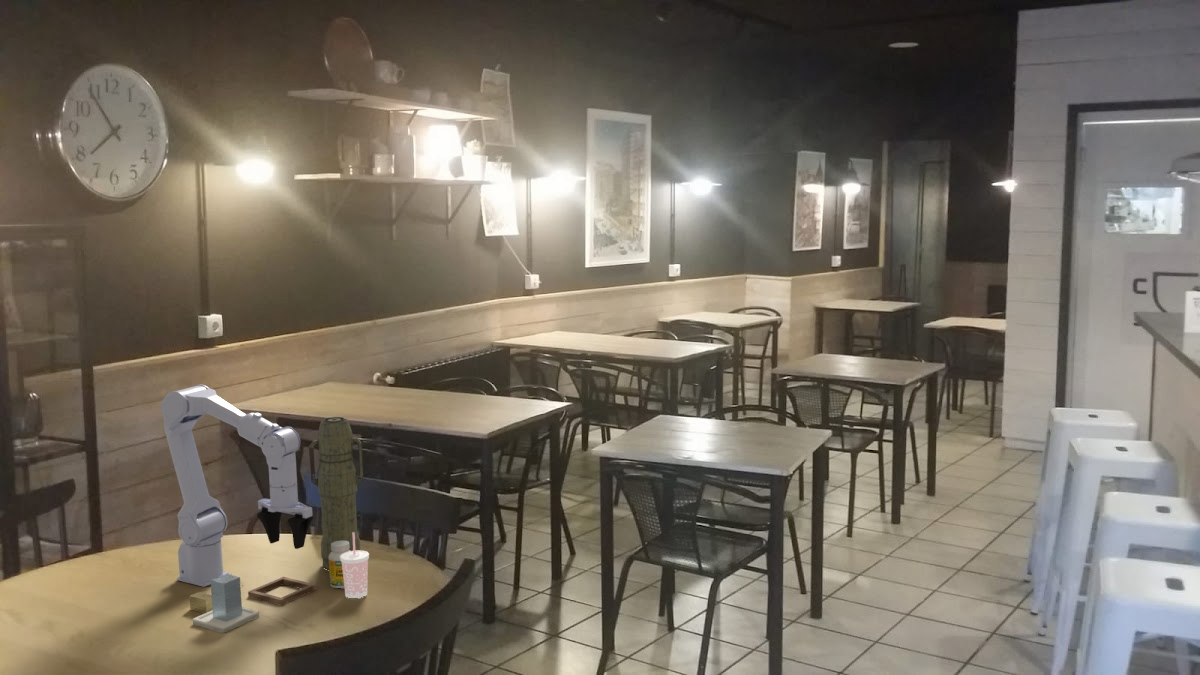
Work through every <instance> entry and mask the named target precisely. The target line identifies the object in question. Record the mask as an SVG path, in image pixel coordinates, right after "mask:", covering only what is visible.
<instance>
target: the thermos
mask: <svg viewBox="0 0 1200 675" xmlns="http://www.w3.org/2000/svg"><path fill="white" fill-rule="evenodd" d="M355 443H357V445H358V446H357V447H358V449H357V450H358V451H357V452H358V468H359V469H358V470H359V475H358V474H357V468H356V465H355V463H354V456H353V451H354V449H353V444H355ZM315 445H317V446H318V454H319V462H318V463H319V465H318V468H317V475H316V464H315V451H314V450H315ZM308 455H309V464H310V465H309V467H310V479H311V480H310V481H311V483H313V485H315V486H317V489H318V496H319V498H320V507H321V508H320V509H321V528H322V530H321V531H322V537H321V542H320V552H321V554H320V555H321V559H322V569H323V568H325V569H327V570H329V554H330V553H331V552H332V550H331V543H333V542H336V541H348V542H349V545H350V548H349V550H350V551H353V535H352V533H353V532H355V550H361V540H360V536H358V522H357V521H358V520H357V519H358V517H357V499H356V495H357V493H358V484H359V483H360V482H363V481H364V465H363V464H364V463H363V462H364V460H363V443H362V441H361V440H360V439H359V437H356V436H353V430H352V428H351V425H350V422H349V421H348V418H344V416H343V417H342V416H341V417H340V416H332V417H328V418H324V419H323V420H321V421H320V423H319V428H318V433H317V438H316V439H314V440H313V441H312V442H311V444H309V446H308ZM316 476H317V478H316ZM327 570H326V571H327Z"/></svg>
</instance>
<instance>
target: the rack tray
mask: <svg viewBox="0 0 1200 675" xmlns="http://www.w3.org/2000/svg"><path fill="white" fill-rule="evenodd" d="M259 617H260V612H259V610H254V609H251V608H247V607H243V606H242V615H240V616H238V617H236V618H234V619H231V620H229V621H227V622H226V621H222V620H219V619H215V618H213V610H212V611H210V612H207V613H202V614H201V615H198V616H196V617H194V618H192V625H193V626H196V627H197V626H198V627H200V628H204V629H208V630H211V631H214V632H218V633H220V634H225V633H227V632H230V631H231V630H234V629H236V628H238V627H240V626H242V625H245V624H247V623H249V622H252V621H253V620H256V619H258V618H259Z"/></svg>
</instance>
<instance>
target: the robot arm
mask: <svg viewBox="0 0 1200 675" xmlns="http://www.w3.org/2000/svg"><path fill="white" fill-rule="evenodd" d="M159 405H160V408H161V411H162V415H163V429H164V434H165V437H166V441H167V444H168V448H169V452H170V456H171V459H172V463H173V467H174V470H175V474H176V478H177V482H178V486H179V488H180V493H181V496H182V499H183V505H182V506H181V508H180V510H179V511H178V513H177V515H176V516H177V520H178V526H177V527H178V528H177V532H178V536H179V538H180V540H181V541H182V542H181V543H180V544H179V546H178V547H179V548H178V550H177V551H178V552H177V556H178V559H177V560H178V571H179V576H178V577H176V580H177V581H180V582H183V583H187V584H191V585H196V586H197V587H198V586H199V587H208V586H211V580H213V579H215V578H218V577H220V576H223V575H225V574H229V575H233V574H232V573H231V572H226V571H224V563H223V550H222V548H223V547H222V538H224V534H223V532H225V531H226V530H227V527H228V517H227V515H226V513H225V512H224V510H223V508H222V507H221V504H220V501H219V500H217V499H216V498H214V497H212V496H211V495H210V492H209V489H208V485H207V481H206V478H205V474H204V471H203V466H202V462H201V459H200V456H199V452H198V449H197V448H198V447H197V444H196V441H195V437H194V433H193V428H194V426H195V425H196V423H197V422H198V421H199V419H200V418H202V417H203V416H204V415H209V416H211V417H213V418H216V419H217V420H220V421H222V422H224V423H225V424H228V425H230V426H232V427H234V428H236V431H237V433H238V435H239V437H241V438H244V439H245V440H247V441H249V442H250V443H252V444H254V445H256V446H258V447H259V448H260V449H261V452H262V453H263V455H264V456H265V459H266V464H267V466H268V478H269V497H270V498H262V499H258V500H257V508H258V510H261V511H260V512H258V513H256V514H257V516H256V517H257V518H258V519H259V521H260V522H261V524H262V526H263V527H264V530H265V533H266V536H267V537H268V541H269V543H270V544H274V543H277V542H280V536H281V535H280V532H281V528H280V525H281V518H282V513H283V514H288V515H294V516H293V517H290V518H287V522H288V524H289V527H290V529H291V535H292V540H293V547H294V549H296V550H299V549H300V548H303V547H305V542H306V537H307V533H308V530H309V527H310V525H311V524H312V523H311V522H313V519H314V514H313V507H311V506H307V505H306V504H304V503H302V502H300V501H299V496H298V495H299V493H298V477H297V476H298V475H297V473H298V472H297V459H296V452H297V451H298V450H299V449H300V446H301V437H300V434H299V433H298V432H297V431H296V430H295V429H294V428H293V427H292V426H284V427H282V426H280V425H279V423H278V424H277V423H273V422H271V421H269V420H267V419H266V418H264V417H263V414H261V413H259V412H250V413H247V414H246V413H245V412H243V411H241V410H240V409H239V408H237V407H235V406H234V405H232V404H231V403H229V402H228V401H226V400H225V399H223V398H222V397H220V396H219V395H218V394H217V391H216V390H215V389H213V388H210V387H209V386H207V385H205V384H197V385H195V386H191V387H187V388H183V389H179V390H173V391H169V392H168V393H166V395H165V396H164V398H163V399H162V401H161V402H160V404H159Z"/></svg>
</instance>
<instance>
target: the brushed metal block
mask: <svg viewBox="0 0 1200 675" xmlns="http://www.w3.org/2000/svg"><path fill="white" fill-rule="evenodd" d="M241 588H242V587H241V578H240V577H239V576H237V575H233V574H232V575H229V574H225V575H223V576H220V577H218V578H215V579H213V580H211V584H210V591H211V594H210V595H212V610H213V618H215V619H219V620H222V621H226V622H227V621H229V620H231V619H234V618H236V617H238V616H240V615H242V607H243V606H242V590H241Z"/></svg>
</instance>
